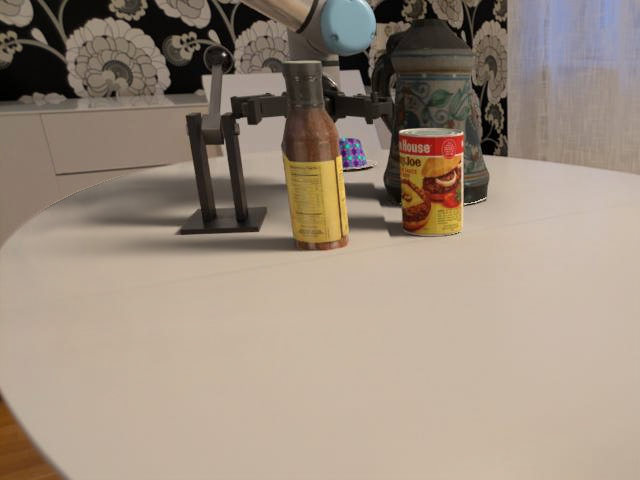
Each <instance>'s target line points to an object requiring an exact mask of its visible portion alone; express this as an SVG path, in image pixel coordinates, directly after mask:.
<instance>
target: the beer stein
mask: <svg viewBox="0 0 640 480" xmlns="http://www.w3.org/2000/svg"><path fill="white" fill-rule="evenodd" d="M476 57H477V55H476V53H474V51H473V50H472V48H471V46H469V45H468V43H466V42H465V41H463V40H462V39H461V38H460V37H459V36H458V35H457V34H456V33H455V32H454V31H453V29H451V28H450V26H449V25H448V23H447V20H446V19H442V18H414V19H412V20H411V23H410V26H409V27H408V28H407V29H406V30H401V31H396V32H394V33H391V34H390V35H389V36H388V38H387V40H386V43H385V53H382V54H380V55H379V56H378V57H377V59H376V61H375V62H374V67H373V69H372V72H371V77H370V89H371V90H370V91H371V92H378V97H389V98H392V113H393V118H390V119H386V118H382V117H380V119H381V120H382V122H383V123H384V125H385V127H386V128H387V130H388V131H389V133H390V134H391V135H390V136H391V137H390V145H389V153H388V158H387V163H386V167H385V170H384V173H383V176H382V179H383V180H382V181H383V185H384V188H385V191H386V195H387V199H388V198H389V199H388V201H389V200H391V201H393V202H396V203H401V204H402V200H401V175H400V150H399V131H401V130H406V129H417V128H444V129H456V130H461V131H463V204H464V203H471V202H475V201H478V200H480V199H483V198H485V197H487V198H488V190H489V188H488V187H489V183H490V180H491V179H490V178H491V177H490V172H489V169H488V167H487V166H486V163H485V160H484V155H483V150H482V147H481V141H480V135H479V130H478V123H477V116H476V110H475V109H476V108H475V101H474V92H473V85H472V84H473V83H472V71H473V69H474V67H475V62H476V59H477V58H476ZM393 75H395V77H396V80H395V81H396V83H395V90H394V100H393V97H392V92H391V81H392V77H393ZM391 201H390V202H391ZM393 202H392V203H393ZM396 203H395V204H396Z"/></svg>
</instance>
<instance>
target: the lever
mask: <svg viewBox="0 0 640 480" xmlns="http://www.w3.org/2000/svg"><path fill="white" fill-rule="evenodd" d="M203 62H204V65H205V67H206V68H207V70H209V71H210V72H211V81H210V93H209V105H208V113H201V116H202V123H201V131H202V135H203V138H204V142H205V145H206V146H222V145H223V146H225V137H224V130H223V123H222V115H223V114H221V107H222V106H221V105H222V92H223V91H222V90H223V76H224V75H225V74H228V73H229V72H230V71H231V69H232V68H233V64H234V60H233V55H232V54H231V52H230V51H229V50H228V48H226V47H225V46H223V45H221V44H212V45H210V46H208V47H207V48H206V49H205V51H204V53H203Z"/></svg>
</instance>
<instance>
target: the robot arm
mask: <svg viewBox="0 0 640 480" xmlns="http://www.w3.org/2000/svg"><path fill="white" fill-rule="evenodd" d="M237 1H238V2H239V3H243V4H244V5H245V6H247V7H249V8H250V9H253V10H255V11H257V12H258V13H260V14H262V15H263V16H266V17H267V18H269V19H271V20H272V21H274V22H276V23H277V24H279V25H281V26H284V27H285V28H286V35H287V44H288V54H289V61H321V63H322V70H323V75H322V88H323V97H324V101H325V110H326V112H327V113H328V114H329V116H330V117H331V118H332V120H333V122H334V124H335V125H336V123H337V121H338V120H341V119H346V118H347V117H353V118H364V121H365V123H366V125H374V120H377V119H380V118H381V117H382V118H386V119H390V118H393V113H392V99H393V97H392V98H389V97H378V92H372V91H370V92H369V95H367V94H362V93H356V94H353V95H352V96H350V95H346V93H345V92H344V91H342V86H341V71H340V59H339V56H341V57H350V56H353V55H358V54H360V53H363V52H365V50H367V49H368V48H369V47H370V45H372V42H373V41H374V39H375V36H376V31H377V21H376V17H375V13H374V11H373V9H372V7H371V6H370V4H369V3H368V2H367V1H366V0H237ZM229 100H230V107H231V112H235V116H236V120H240V119H244V118H246V122H247V123H246V124H247V125H248V126H257V125H259V124H260V123H261V122H262V121H263V119H265V118H266V119H267V118H274V117H276V118H278V117H283V118H285V119H286V116H287V110H288V105H287V100H288V99H287V91H286V90H285V91H282V92H281V95H275V94H273V93H270V92H265V93H262V94H254V95H253V94H252V95H243V96H237V95H233V96H230V97H229Z"/></svg>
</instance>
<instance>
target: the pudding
mask: <svg viewBox="0 0 640 480" xmlns="http://www.w3.org/2000/svg"><path fill="white" fill-rule="evenodd" d="M339 145H340V147H339V148H340V153H341V156H342V166H343V169H356V168H365V167H361V166H364V165H366V164H367V161H373V162H375V163H376V164H375V165H377V164H378V162H377V161H375V160H372V159H366V155H365V152H364V148H363V144H362V142H361V140H360V139H358V138H356V137H355V138H353V137H351V138H350V137H339ZM375 165H371V166H366V167H367V168H369V167H373V166H375ZM354 167H355V168H354ZM365 169H366V168H365Z"/></svg>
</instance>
